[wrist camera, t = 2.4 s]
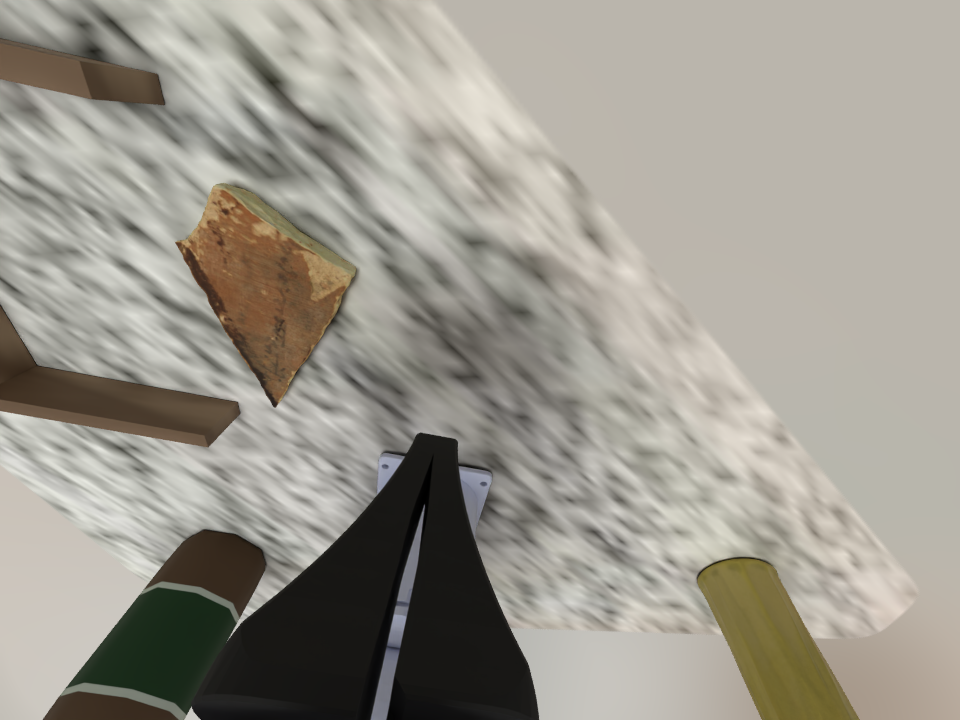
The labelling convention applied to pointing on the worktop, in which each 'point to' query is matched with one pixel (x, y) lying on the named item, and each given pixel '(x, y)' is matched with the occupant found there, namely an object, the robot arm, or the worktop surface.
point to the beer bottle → (167, 635)
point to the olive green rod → (772, 643)
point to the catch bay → (72, 396)
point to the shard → (264, 283)
